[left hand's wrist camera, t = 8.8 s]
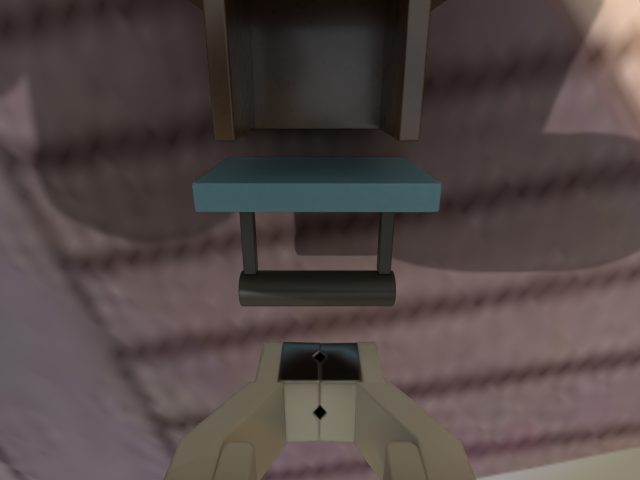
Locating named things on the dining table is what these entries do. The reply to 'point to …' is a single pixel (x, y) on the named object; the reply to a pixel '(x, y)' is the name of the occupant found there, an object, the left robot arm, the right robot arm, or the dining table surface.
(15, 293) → the dining table surface
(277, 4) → the drawer
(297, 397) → the left robot arm
